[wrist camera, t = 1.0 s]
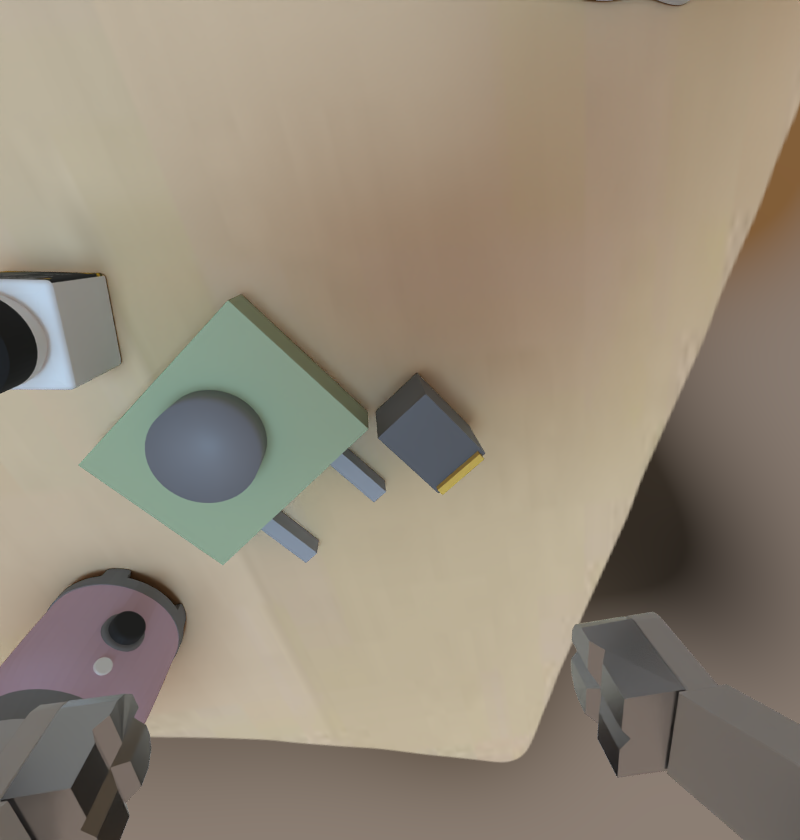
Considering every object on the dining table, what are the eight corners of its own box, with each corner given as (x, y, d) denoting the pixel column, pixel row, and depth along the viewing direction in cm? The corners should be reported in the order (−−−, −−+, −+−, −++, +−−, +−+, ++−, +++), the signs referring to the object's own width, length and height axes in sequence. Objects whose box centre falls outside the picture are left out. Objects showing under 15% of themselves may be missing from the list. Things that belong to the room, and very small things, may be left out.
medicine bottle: (106, 272, 35) (-10, 287, 24) (123, 364, 38) (25, 416, 27) (5, 270, 35) (-161, 285, 24) (30, 364, 37) (-110, 416, 26)
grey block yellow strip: (416, 372, 40) (426, 396, 34) (468, 425, 43) (487, 456, 36) (375, 411, 41) (378, 441, 35) (428, 461, 44) (439, 497, 37)
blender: (145, 680, 50) (-169, 1327, 20) (34, 627, 46) (-546, 1319, 17) (231, 586, 47) (5, 1198, 17) (118, 521, 43) (-423, 1152, 13)
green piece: (241, 294, 37) (215, 306, 30) (413, 454, 43) (423, 493, 37) (104, 444, 40) (55, 483, 34) (282, 572, 46) (269, 626, 40)
